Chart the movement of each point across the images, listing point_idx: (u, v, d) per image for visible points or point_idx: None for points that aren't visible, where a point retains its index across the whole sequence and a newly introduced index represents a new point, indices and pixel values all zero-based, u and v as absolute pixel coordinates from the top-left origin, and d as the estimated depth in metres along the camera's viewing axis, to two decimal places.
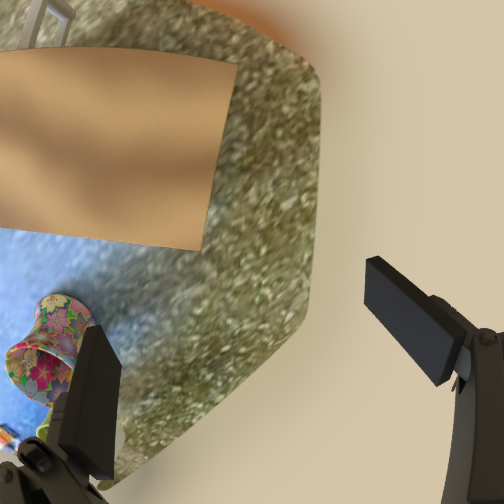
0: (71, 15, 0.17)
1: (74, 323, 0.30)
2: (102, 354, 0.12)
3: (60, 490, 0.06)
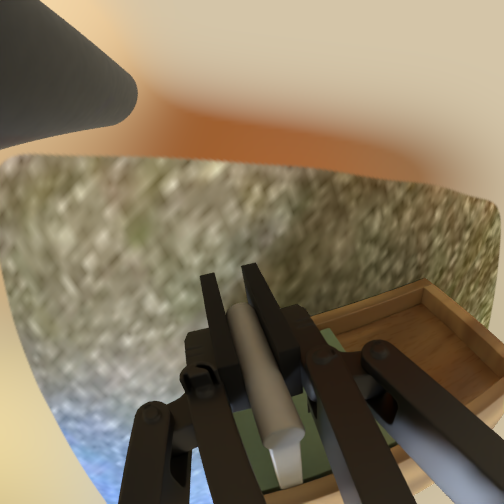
0: None
1: None
2: None
3: (211, 421, 0.08)
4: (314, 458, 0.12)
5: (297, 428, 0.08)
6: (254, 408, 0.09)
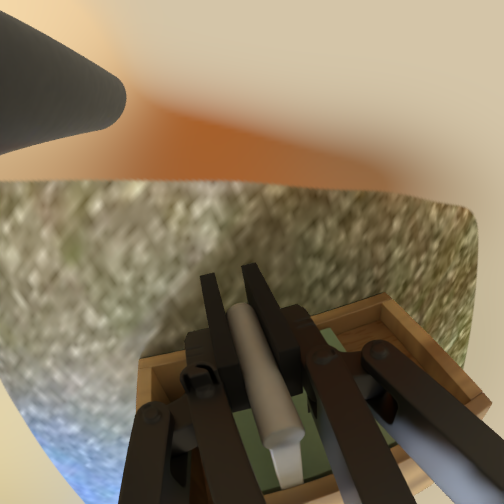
0: None
1: None
2: None
3: (211, 421, 0.08)
4: (315, 457, 0.12)
5: (297, 429, 0.08)
6: (254, 408, 0.09)
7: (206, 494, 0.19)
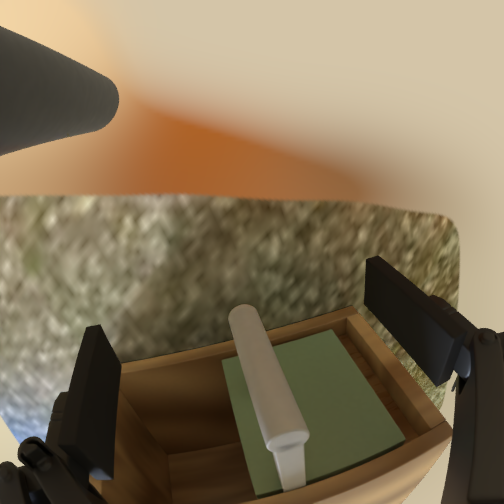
0: None
1: None
2: (102, 354, 0.12)
3: (60, 490, 0.06)
4: (317, 460, 0.12)
5: (301, 431, 0.08)
6: (258, 411, 0.09)
7: (171, 500, 0.19)
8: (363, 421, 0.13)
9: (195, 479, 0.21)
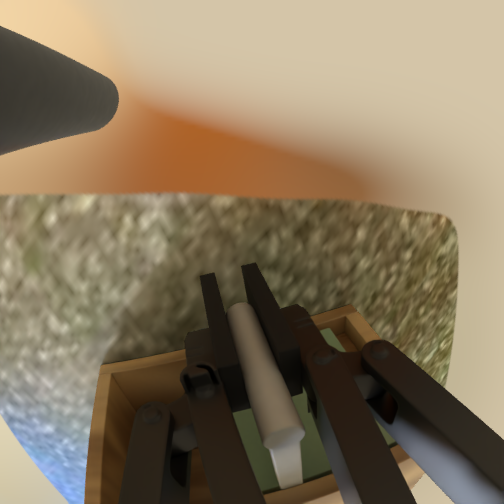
0: None
1: None
2: None
3: (211, 421, 0.08)
4: (314, 457, 0.12)
5: (297, 428, 0.08)
6: (254, 407, 0.09)
7: None
8: None
9: (194, 477, 0.21)
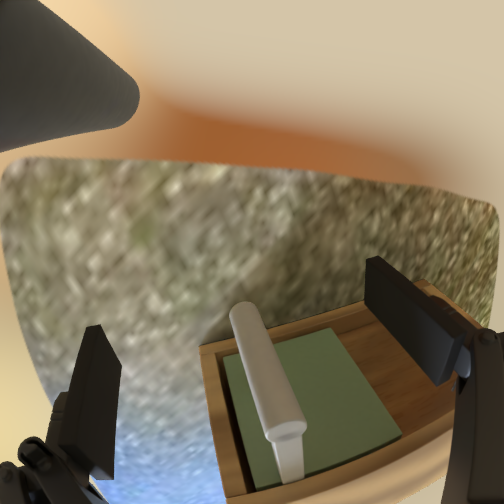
0: None
1: None
2: (102, 354, 0.12)
3: (60, 490, 0.06)
4: (316, 453, 0.12)
5: (299, 421, 0.09)
6: (258, 402, 0.10)
7: None
8: (360, 416, 0.14)
9: None
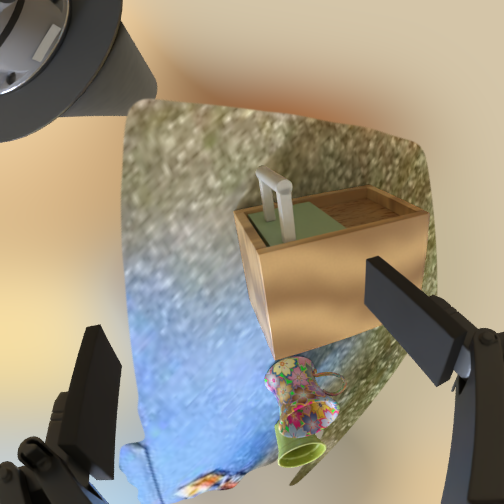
0: None
1: (308, 373, 0.45)
2: (102, 354, 0.12)
3: (60, 490, 0.06)
4: (301, 235, 0.28)
5: (289, 181, 0.25)
6: (272, 181, 0.26)
7: None
8: (324, 224, 0.30)
9: None
